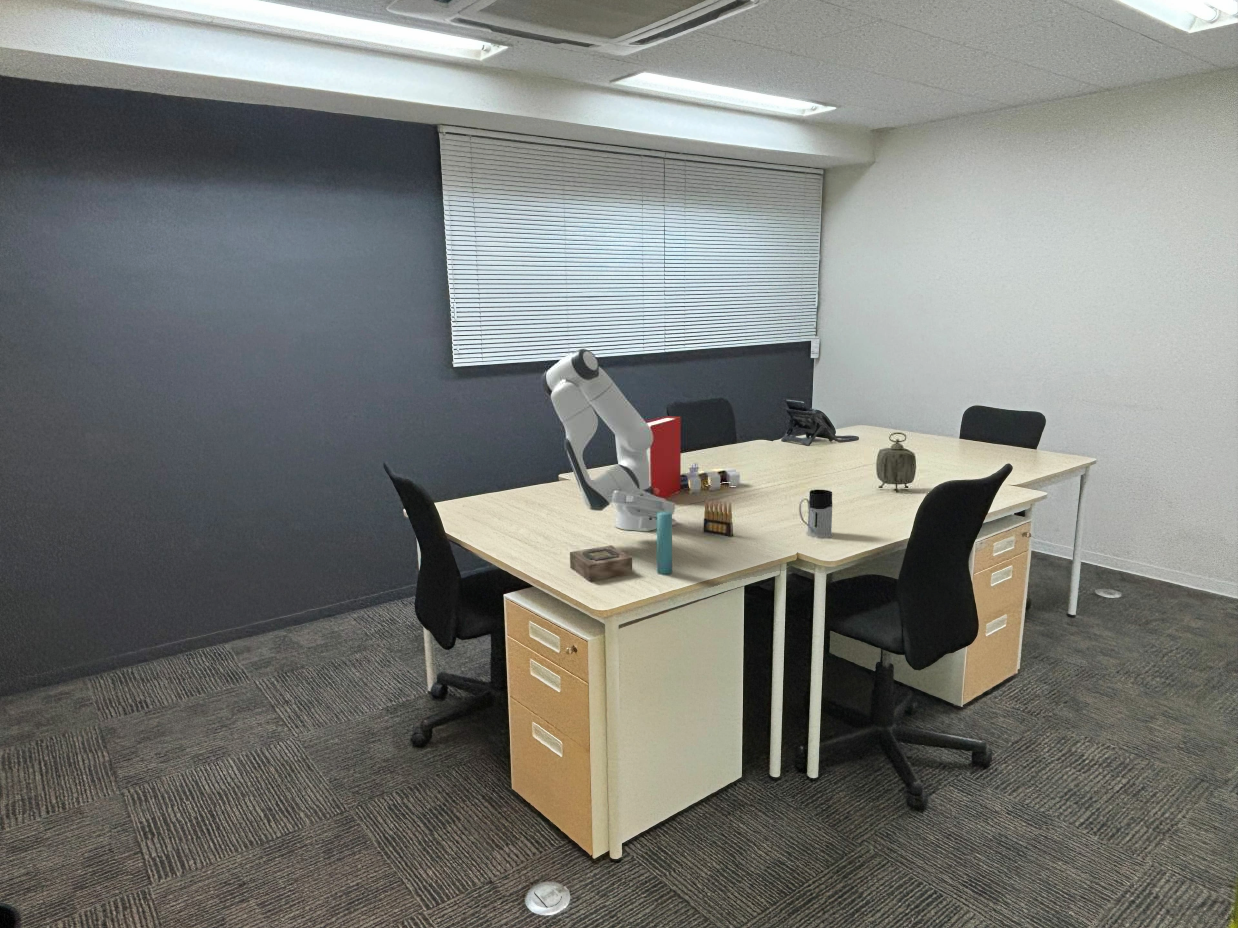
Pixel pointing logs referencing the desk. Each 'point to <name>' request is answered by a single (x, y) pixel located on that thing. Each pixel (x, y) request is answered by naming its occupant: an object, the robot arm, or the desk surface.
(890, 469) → the tabletop clock
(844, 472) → the desk surface
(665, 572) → the peg
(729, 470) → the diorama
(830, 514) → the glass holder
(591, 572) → the socket block
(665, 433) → the book
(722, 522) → the ammunition clip
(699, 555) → the desk surface
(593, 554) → the tan square plate
